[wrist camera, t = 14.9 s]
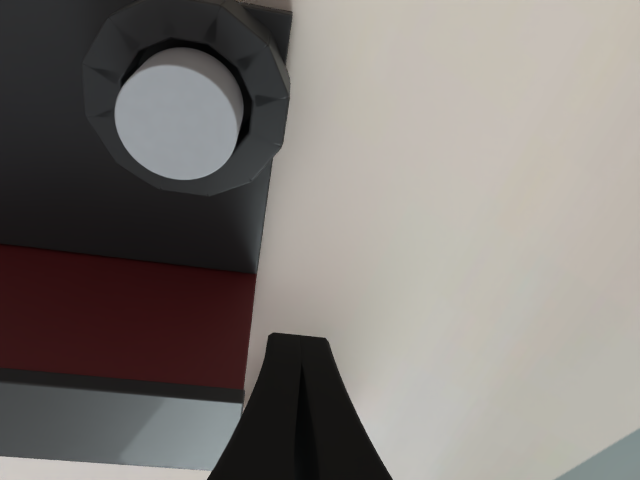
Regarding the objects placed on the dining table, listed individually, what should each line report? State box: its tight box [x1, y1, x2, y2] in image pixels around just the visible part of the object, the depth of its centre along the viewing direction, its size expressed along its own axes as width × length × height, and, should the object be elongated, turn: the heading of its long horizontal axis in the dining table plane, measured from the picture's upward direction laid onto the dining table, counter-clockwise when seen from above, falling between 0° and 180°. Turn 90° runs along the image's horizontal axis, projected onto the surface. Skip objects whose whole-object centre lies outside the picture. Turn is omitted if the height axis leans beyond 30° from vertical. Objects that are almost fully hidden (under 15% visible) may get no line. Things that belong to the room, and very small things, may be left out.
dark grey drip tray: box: [0, 0, 292, 274], centre depth 18 cm, size 11×14×3 cm
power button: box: [114, 47, 244, 180], centre depth 16 cm, size 4×4×2 cm
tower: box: [0, 244, 257, 471], centre depth 20 cm, size 5×14×8 cm, turn 80°
